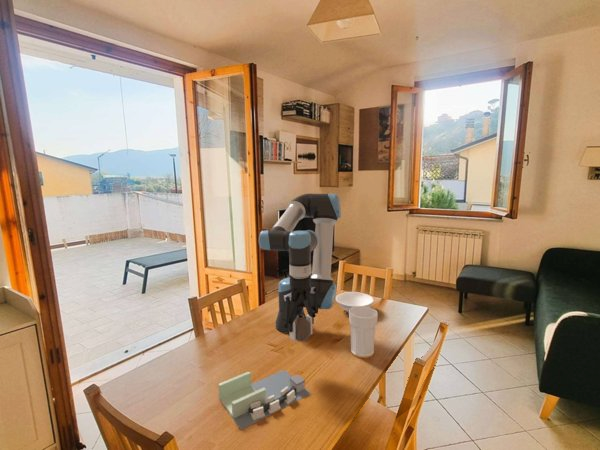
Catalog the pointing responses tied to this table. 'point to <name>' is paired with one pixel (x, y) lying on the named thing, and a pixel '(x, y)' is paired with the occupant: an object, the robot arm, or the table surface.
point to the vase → (302, 328)
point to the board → (272, 387)
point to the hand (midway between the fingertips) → (301, 335)
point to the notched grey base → (281, 400)
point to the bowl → (353, 300)
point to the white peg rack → (274, 406)
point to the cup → (362, 330)
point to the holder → (240, 395)
